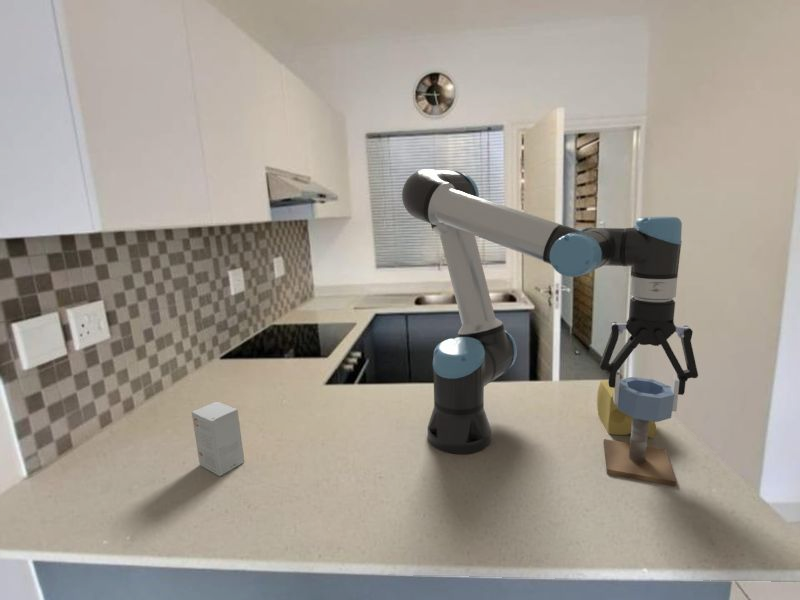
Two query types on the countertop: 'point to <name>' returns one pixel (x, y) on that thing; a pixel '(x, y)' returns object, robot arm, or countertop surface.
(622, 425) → the cheese
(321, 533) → the countertop surface
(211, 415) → the small box
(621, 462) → the post
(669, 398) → the ring
